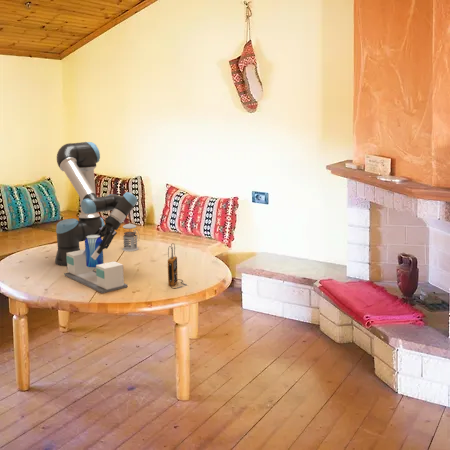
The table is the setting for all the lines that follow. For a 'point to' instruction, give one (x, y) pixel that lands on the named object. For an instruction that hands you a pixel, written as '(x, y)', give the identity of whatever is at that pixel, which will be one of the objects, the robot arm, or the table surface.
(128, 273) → the table surface
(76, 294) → the table surface
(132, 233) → the french press
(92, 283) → the rail board
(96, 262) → the beer can
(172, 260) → the multimeter
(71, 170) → the robot arm
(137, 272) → the table surface
